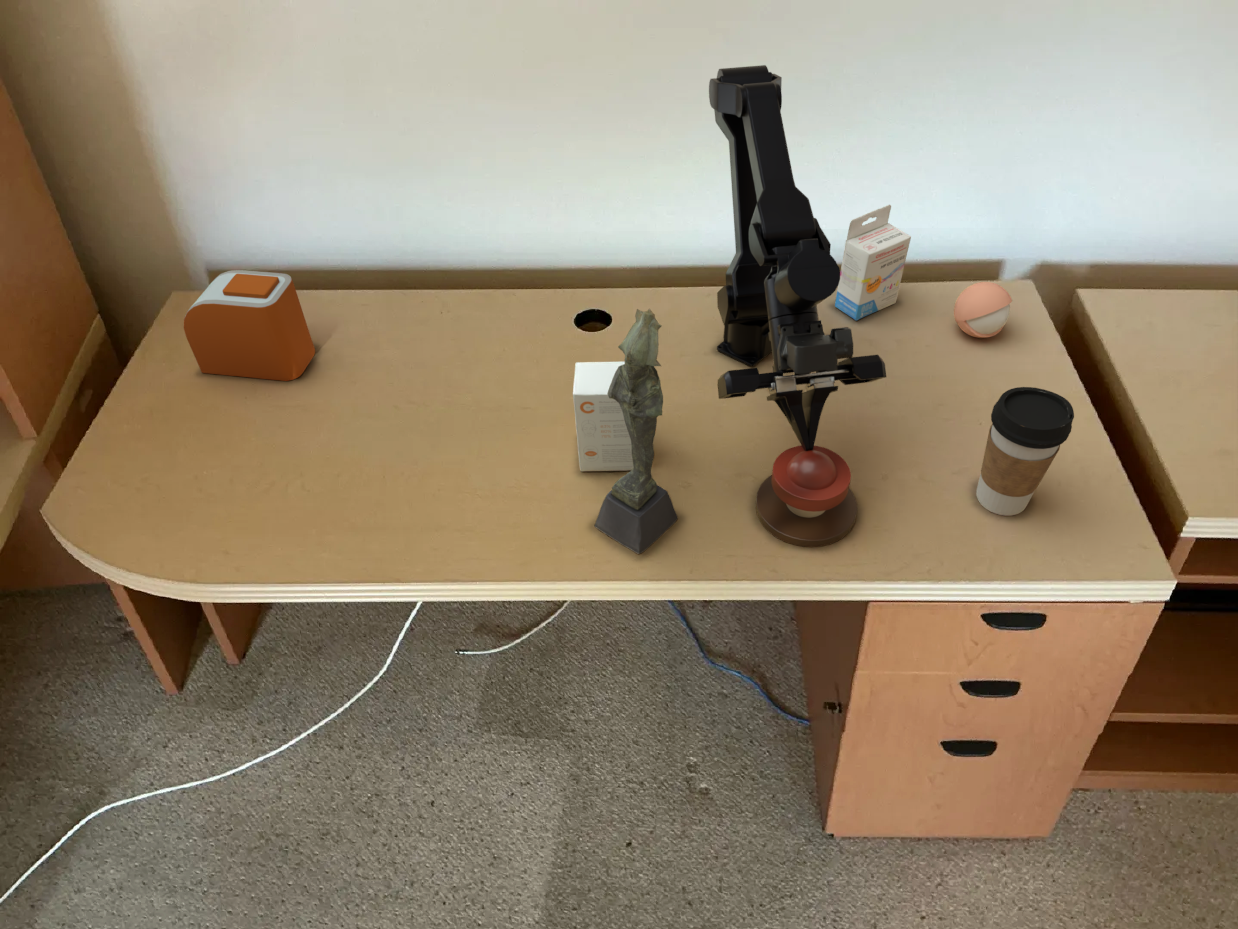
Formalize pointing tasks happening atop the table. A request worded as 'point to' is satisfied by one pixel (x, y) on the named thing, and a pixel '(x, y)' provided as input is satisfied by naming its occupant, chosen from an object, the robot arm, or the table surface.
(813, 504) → the toy mushroom
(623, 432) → the small box
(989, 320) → the toy ball
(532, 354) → the table surface
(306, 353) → the alarm clock
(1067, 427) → the coffee cup
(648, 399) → the statue
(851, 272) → the ink box
